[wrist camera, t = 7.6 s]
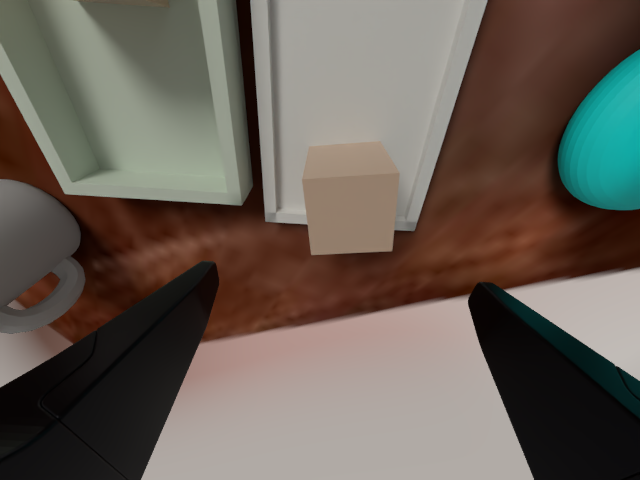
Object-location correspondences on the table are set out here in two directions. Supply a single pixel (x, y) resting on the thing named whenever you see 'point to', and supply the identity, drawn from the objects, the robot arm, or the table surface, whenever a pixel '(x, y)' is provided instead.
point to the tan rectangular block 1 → (132, 2)
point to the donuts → (606, 142)
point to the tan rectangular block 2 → (350, 198)
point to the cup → (36, 255)
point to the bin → (132, 96)
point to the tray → (357, 87)
